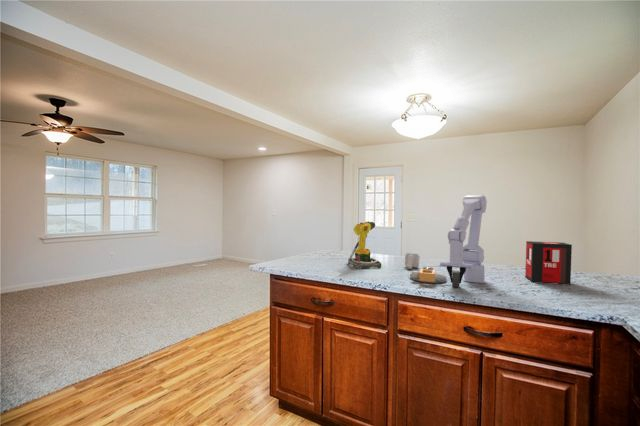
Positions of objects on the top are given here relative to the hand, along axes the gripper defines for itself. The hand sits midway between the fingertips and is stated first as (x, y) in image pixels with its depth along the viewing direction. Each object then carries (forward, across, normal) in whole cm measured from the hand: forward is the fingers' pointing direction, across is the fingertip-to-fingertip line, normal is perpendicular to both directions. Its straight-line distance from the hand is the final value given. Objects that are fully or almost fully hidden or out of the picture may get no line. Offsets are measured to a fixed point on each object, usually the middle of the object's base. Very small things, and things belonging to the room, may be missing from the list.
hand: (455, 282), depth 145 cm
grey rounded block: (+2, -24, +34) cm, 42 cm away
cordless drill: (+2, -52, +31) cm, 61 cm away
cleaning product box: (+2, +44, +30) cm, 53 cm away
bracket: (0, -15, +3) cm, 15 cm away
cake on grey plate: (+2, -13, +10) cm, 16 cm away
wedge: (+2, 0, 0) cm, 2 cm away
